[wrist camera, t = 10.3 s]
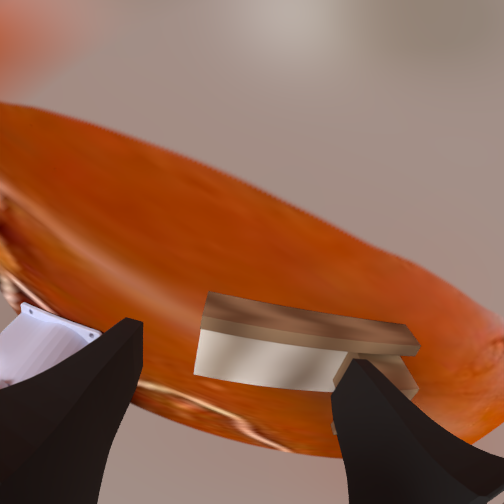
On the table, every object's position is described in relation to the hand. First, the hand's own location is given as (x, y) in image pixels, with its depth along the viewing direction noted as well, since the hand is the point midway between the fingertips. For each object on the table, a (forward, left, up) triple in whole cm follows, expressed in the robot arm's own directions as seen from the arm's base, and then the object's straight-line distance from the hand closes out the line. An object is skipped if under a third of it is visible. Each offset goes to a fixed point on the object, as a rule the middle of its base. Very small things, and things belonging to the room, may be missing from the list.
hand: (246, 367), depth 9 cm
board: (+6, -6, -10) cm, 13 cm away
